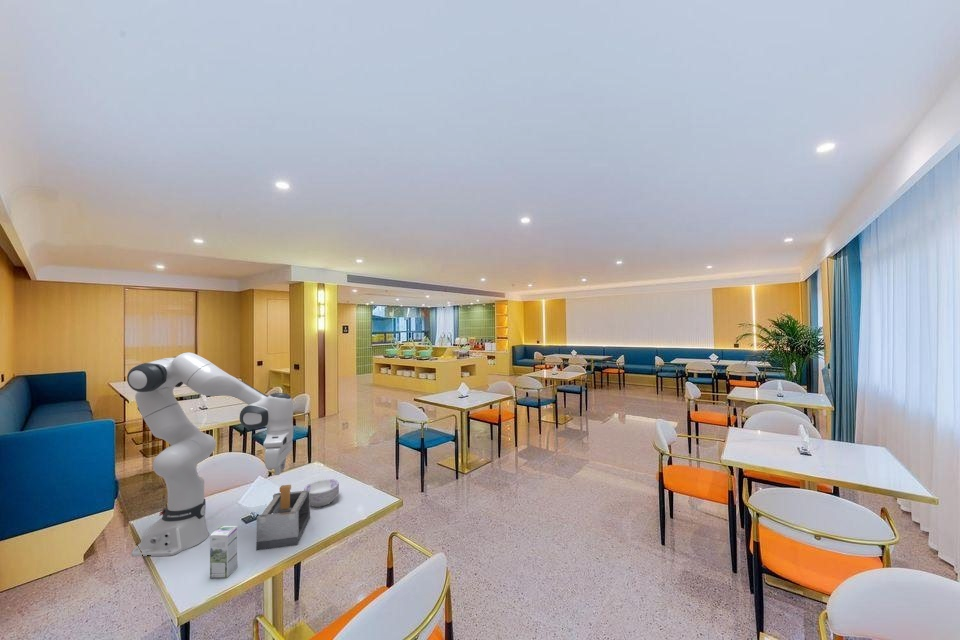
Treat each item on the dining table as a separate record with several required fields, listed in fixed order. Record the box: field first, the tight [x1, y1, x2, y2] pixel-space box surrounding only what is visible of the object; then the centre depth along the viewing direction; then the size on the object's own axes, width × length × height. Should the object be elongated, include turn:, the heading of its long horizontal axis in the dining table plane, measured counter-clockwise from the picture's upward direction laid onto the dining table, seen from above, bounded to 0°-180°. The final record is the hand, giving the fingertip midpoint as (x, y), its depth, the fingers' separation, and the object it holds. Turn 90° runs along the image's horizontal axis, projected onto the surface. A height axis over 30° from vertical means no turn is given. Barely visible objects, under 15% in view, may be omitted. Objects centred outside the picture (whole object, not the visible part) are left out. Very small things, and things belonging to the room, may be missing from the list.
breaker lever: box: [279, 484, 292, 513], centre depth 144 cm, size 2×4×10 cm, turn 103°
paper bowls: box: [303, 478, 340, 508], centre depth 170 cm, size 15×15×8 cm
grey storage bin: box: [255, 490, 311, 551], centre depth 144 cm, size 20×14×12 cm
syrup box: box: [209, 525, 238, 579], centre depth 121 cm, size 6×6×14 cm
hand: (280, 471), depth 138 cm, fingers open, 3 cm apart
